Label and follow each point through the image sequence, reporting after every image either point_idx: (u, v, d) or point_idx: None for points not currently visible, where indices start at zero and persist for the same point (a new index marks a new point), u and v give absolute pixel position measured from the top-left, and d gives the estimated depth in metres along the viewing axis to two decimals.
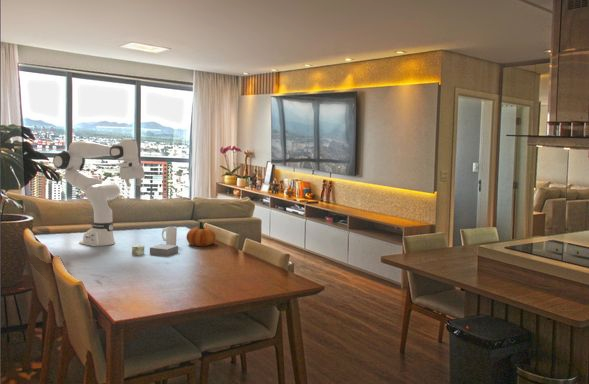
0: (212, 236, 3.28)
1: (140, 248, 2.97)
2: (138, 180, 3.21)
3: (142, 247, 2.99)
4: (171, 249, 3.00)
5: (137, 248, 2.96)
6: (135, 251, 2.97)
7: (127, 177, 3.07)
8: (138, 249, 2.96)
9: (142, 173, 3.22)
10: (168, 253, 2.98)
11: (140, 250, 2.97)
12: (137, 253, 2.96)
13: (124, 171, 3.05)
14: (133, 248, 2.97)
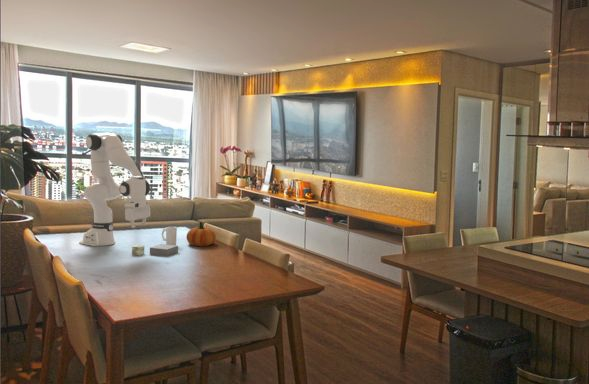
0: (212, 236, 3.28)
1: (140, 248, 2.97)
2: None
3: (142, 247, 2.99)
4: (171, 249, 3.00)
5: (137, 248, 2.96)
6: (135, 251, 2.97)
7: (132, 218, 2.89)
8: (138, 249, 2.96)
9: (148, 212, 3.04)
10: (168, 253, 2.98)
11: (140, 250, 2.97)
12: (137, 253, 2.96)
13: (130, 212, 2.87)
14: (133, 248, 2.97)
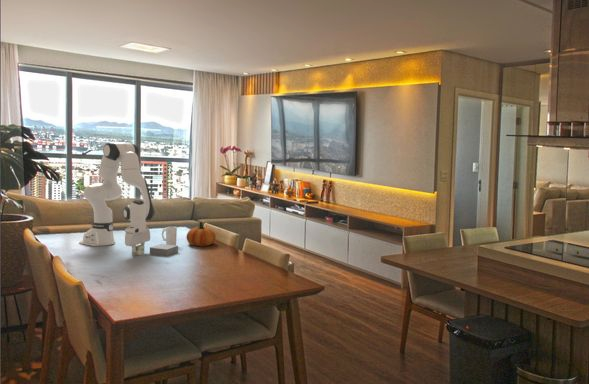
0: (212, 236, 3.28)
1: (140, 248, 2.97)
2: (142, 244, 3.03)
3: (142, 247, 2.99)
4: (171, 249, 3.00)
5: (137, 248, 2.96)
6: None
7: (132, 244, 2.91)
8: (138, 249, 2.96)
9: (148, 236, 3.05)
10: (168, 253, 2.98)
11: (140, 250, 2.97)
12: (137, 253, 2.96)
13: (130, 238, 2.89)
14: None
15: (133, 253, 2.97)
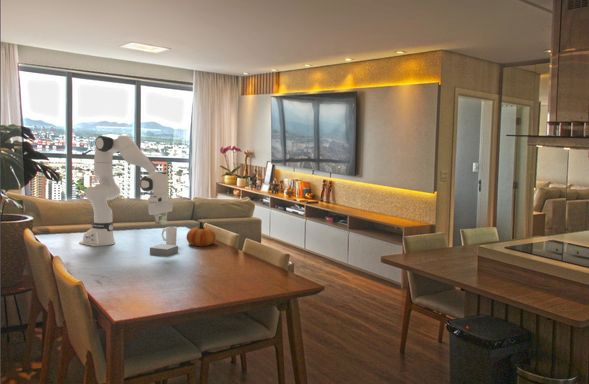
0: (212, 236, 3.28)
1: (163, 217, 2.99)
2: (164, 214, 3.05)
3: (165, 217, 3.01)
4: (171, 249, 3.00)
5: (160, 217, 2.98)
6: None
7: (155, 213, 2.93)
8: (161, 218, 2.98)
9: (170, 207, 3.07)
10: (168, 253, 2.98)
11: (163, 219, 2.99)
12: (160, 222, 2.98)
13: (153, 206, 2.91)
14: None
15: (156, 223, 2.99)
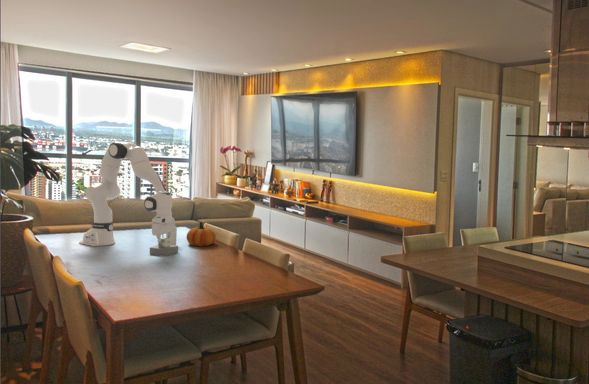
0: (212, 236, 3.28)
1: (166, 240, 3.01)
2: None
3: (168, 239, 3.03)
4: (171, 249, 3.00)
5: (163, 240, 3.00)
6: (161, 243, 3.01)
7: (159, 233, 2.95)
8: (164, 241, 3.00)
9: (173, 226, 3.09)
10: (168, 253, 2.98)
11: (166, 242, 3.01)
12: (163, 245, 3.01)
13: (157, 227, 2.93)
14: None
15: (159, 245, 3.02)
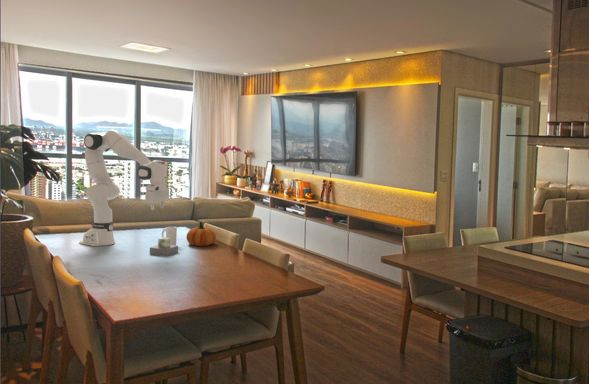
0: (212, 236, 3.28)
1: (166, 240, 3.01)
2: (162, 203, 3.14)
3: (168, 239, 3.03)
4: (171, 249, 3.00)
5: (163, 240, 3.00)
6: (161, 243, 3.01)
7: (152, 201, 3.01)
8: (164, 241, 3.00)
9: (167, 196, 3.15)
10: (168, 253, 2.98)
11: (166, 242, 3.01)
12: (163, 245, 3.01)
13: (150, 195, 2.99)
14: (159, 240, 3.01)
15: (159, 245, 3.02)
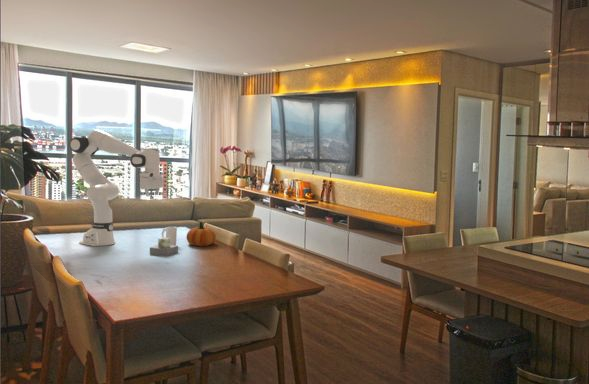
0: (212, 236, 3.28)
1: (166, 240, 3.01)
2: (157, 189, 3.21)
3: (168, 239, 3.03)
4: (171, 249, 3.00)
5: (163, 240, 3.00)
6: (161, 243, 3.01)
7: (147, 187, 3.08)
8: (164, 241, 3.00)
9: (161, 183, 3.22)
10: (168, 253, 2.98)
11: (166, 242, 3.01)
12: (163, 245, 3.01)
13: (145, 181, 3.06)
14: (159, 240, 3.01)
15: (159, 245, 3.02)
